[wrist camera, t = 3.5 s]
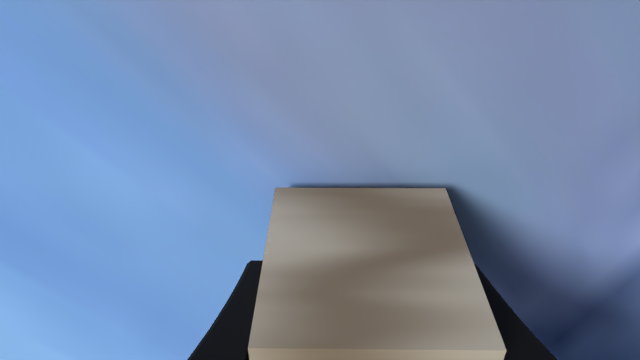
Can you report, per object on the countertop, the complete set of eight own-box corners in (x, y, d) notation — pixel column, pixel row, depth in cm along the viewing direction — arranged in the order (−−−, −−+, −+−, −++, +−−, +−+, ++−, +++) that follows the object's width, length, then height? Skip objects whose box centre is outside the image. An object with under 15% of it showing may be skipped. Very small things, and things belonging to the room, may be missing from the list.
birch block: (445, 187, 12) (506, 350, 8) (425, 304, 15) (464, 476, 10) (275, 187, 12) (248, 348, 8) (284, 303, 15) (265, 473, 11)
